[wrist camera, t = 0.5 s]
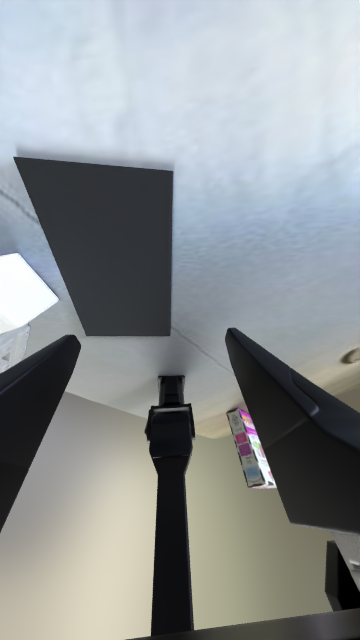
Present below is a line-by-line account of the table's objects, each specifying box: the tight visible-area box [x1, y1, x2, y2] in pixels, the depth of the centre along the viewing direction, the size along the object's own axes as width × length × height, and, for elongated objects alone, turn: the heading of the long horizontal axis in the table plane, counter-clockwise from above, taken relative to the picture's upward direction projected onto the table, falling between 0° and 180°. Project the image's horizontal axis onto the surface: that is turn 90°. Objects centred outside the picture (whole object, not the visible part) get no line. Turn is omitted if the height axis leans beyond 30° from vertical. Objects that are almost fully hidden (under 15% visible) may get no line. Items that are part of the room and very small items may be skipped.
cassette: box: [0, 322, 30, 373], centre depth 23 cm, size 12×2×8 cm, turn 144°
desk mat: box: [13, 157, 173, 336], centre depth 20 cm, size 22×15×1 cm
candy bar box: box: [226, 408, 277, 489], centre depth 43 cm, size 11×5×16 cm, turn 44°
